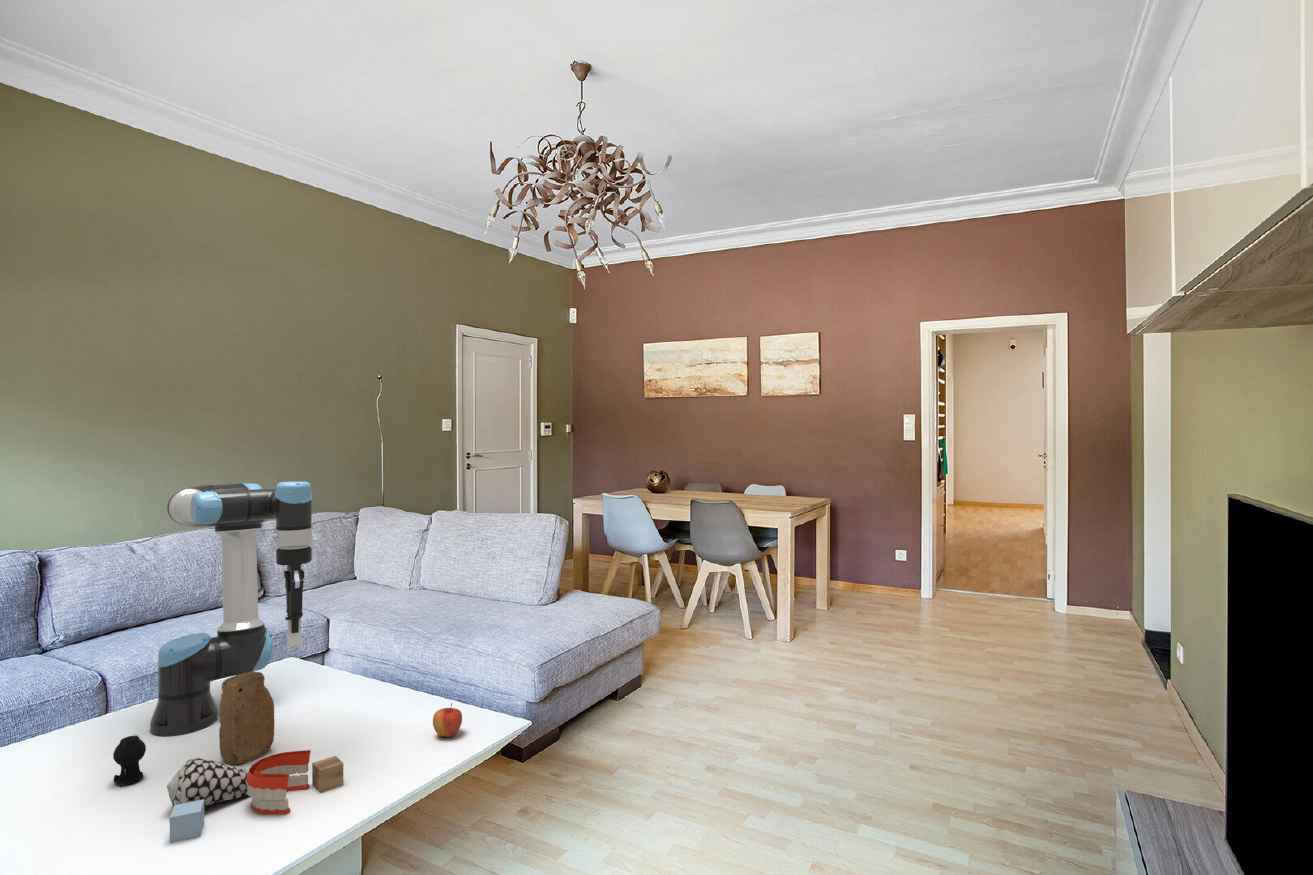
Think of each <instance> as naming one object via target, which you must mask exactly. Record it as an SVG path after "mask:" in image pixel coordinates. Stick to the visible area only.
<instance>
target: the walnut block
mask: <svg viewBox="0 0 1313 875" xmlns="http://www.w3.org/2000/svg"><path fill="white" fill-rule="evenodd" d="M311 767H312V768H311V769H312V772H311V774H312V775H311V776H312V777H311V778H312V779H311V780H312V781H311V784H312V786H313V787H314V788H315V790H316V791H317V792H318V793H319V794H321V793H324V792H327V791H330V790H332V789H335V788H338V787H342V786H344V762H343V761H342V760H341V759H340V758H339V757H338V756H336V755H333V756H331V757H327V758H325V759H319V760H317V761H314V762H312V763H311Z"/></svg>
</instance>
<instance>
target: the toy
mask: <svg viewBox="0 0 1313 875" xmlns="http://www.w3.org/2000/svg"><path fill="white" fill-rule="evenodd" d="M311 751H312V750H311V749H306V750H295V751H286V752H279V753H275V754H271V755H269V756H266V757H264V758H260V759H258V760H257V761H256V762H254V763H253V764H252V765H251V766H250V768H249V769H248V770H247V771H248V774H247V778H246V782H247V794H248V795H247V796H248V797H250V798H251V799H252V800H251V801H252V802H251V806H252V808H253V809H254V810H255V811H257V813H260V814H264V815H286V814H287V815H288V814H291V807H290V806H289V798H288V797H287V792H293V791H304V790H309V789H310V784H309V783H308V782H309V775H308V774H306V773H308V772H309V771H310V770H309V763H310V758H311ZM296 774H297V775H296Z"/></svg>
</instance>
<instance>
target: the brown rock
mask: <svg viewBox="0 0 1313 875" xmlns="http://www.w3.org/2000/svg"><path fill="white" fill-rule="evenodd" d="M221 692H222V693H221V696H220V704H219V724H220V727H219V730H218V734H219V735H218V736H219V737H218V739H219V751H220V752H219V753H220V757H221V759H222V760H223V761H224V762H225V763H226V764H227V765H228V764H229V765H240V764H245V763H246V762H247V763H249V762H252V761H255V760H257V759H258V758H259V757H262V756H264V755H265V754H267V753H268V752H269V750H270V749H271V747H272V745H273V743H274V738H275V702H274V699H273V697H272V696H271V693H270V691H269V689H268V688H267V687H266V686H265V676H264V673H262V672H261V671H254V672H253V671H251V672H247V673H245V674H240V675H236V676H231V677H227V679H226V678H225V679H224V680H223V681H222V683H221ZM263 754H264V755H263ZM261 755H262V756H261ZM256 758H257V759H256ZM247 763H246V764H247Z"/></svg>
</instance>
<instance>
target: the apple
mask: <svg viewBox="0 0 1313 875" xmlns="http://www.w3.org/2000/svg"><path fill="white" fill-rule="evenodd" d="M452 706H453V703H452V702H451V705H450V707H444V708H443V707H442V708H440V709H438V710H436V711H435V712H434V714H433V717H432V726H433V730H434V731H435V733H436V734H437V735H438V737H440V736H443V737H447V738H452V737H454V736H455V735H456V734H457V732H458V731H459V730H460V728H461V725H462V722H463V714H462V711H461V710H460V709H458V708H456V707H452Z"/></svg>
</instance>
